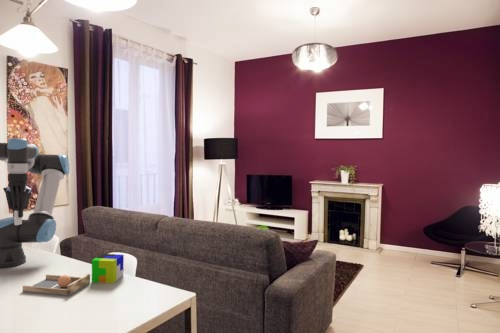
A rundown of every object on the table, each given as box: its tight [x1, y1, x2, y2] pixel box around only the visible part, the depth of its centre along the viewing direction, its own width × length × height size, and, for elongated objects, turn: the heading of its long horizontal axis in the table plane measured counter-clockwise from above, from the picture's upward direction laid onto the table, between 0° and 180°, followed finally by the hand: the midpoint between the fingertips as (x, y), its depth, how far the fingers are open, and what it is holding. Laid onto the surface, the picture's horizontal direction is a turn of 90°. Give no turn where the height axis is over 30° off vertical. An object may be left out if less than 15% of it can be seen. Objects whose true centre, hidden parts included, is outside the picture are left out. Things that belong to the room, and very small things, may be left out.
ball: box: [58, 274, 71, 287], centre depth 149 cm, size 5×5×5 cm
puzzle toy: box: [91, 253, 125, 284], centre depth 162 cm, size 10×10×10 cm
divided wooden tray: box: [22, 273, 91, 296], centre depth 150 cm, size 14×21×4 cm, turn 82°
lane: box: [22, 278, 91, 297], centre depth 150 cm, size 14×21×1 cm, turn 82°
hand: (18, 224), depth 160 cm, fingers closed
